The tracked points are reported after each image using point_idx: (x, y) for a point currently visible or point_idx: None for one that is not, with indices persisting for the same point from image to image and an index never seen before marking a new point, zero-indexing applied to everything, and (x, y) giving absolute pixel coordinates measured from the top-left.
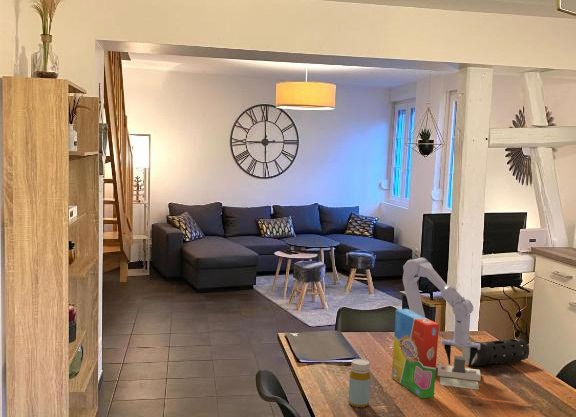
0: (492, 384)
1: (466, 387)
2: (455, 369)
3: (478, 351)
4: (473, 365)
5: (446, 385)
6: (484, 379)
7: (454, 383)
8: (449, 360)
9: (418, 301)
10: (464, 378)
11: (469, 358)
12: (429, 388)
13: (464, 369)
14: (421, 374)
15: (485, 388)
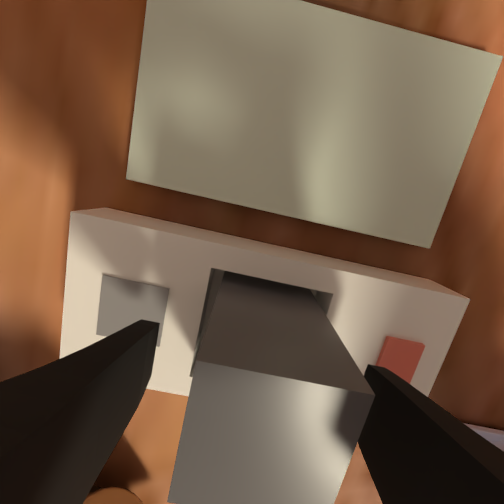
0: (9, 170)
1: (266, 3)
2: (307, 308)
3: None
4: (101, 488)
5: (446, 41)
6: (62, 274)
7: (353, 102)
8: (416, 394)
9: None
10: (229, 237)
11: (103, 450)
12: None
13: (218, 294)
14: None
15: (83, 59)
